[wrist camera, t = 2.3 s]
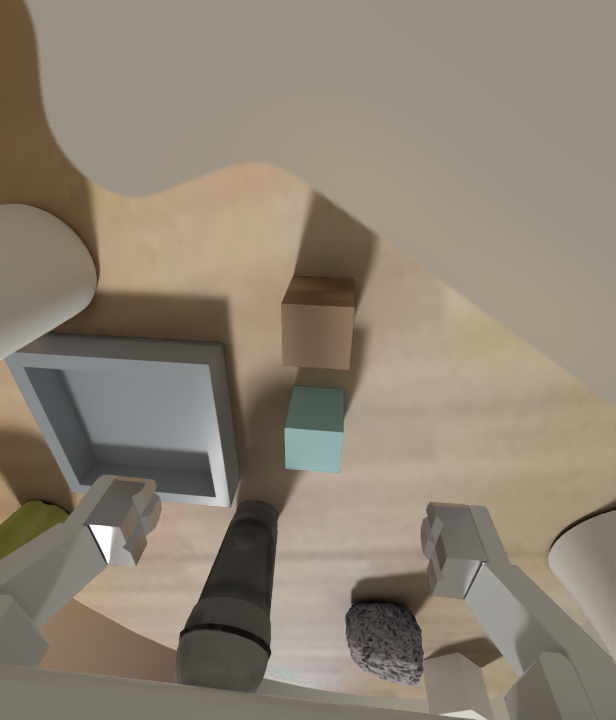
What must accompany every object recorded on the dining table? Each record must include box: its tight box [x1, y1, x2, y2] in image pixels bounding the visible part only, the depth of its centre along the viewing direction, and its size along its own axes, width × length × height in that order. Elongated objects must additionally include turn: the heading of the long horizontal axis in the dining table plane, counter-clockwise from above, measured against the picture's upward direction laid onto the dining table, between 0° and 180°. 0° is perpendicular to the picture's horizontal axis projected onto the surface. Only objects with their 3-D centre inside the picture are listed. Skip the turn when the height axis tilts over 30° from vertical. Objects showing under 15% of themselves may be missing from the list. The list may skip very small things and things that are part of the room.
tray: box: [4, 332, 240, 507], centre depth 29 cm, size 15×15×3 cm
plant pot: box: [0, 500, 70, 560], centre depth 37 cm, size 9×9×9 cm
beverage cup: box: [175, 501, 278, 693], centre depth 28 cm, size 7×7×20 cm
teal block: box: [285, 386, 344, 473], centre depth 27 cm, size 4×4×5 cm
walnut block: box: [281, 276, 355, 370], centre depth 22 cm, size 4×4×5 cm
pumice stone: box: [345, 602, 424, 686], centre depth 42 cm, size 10×8×10 cm
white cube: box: [422, 652, 494, 720], centre depth 48 cm, size 6×6×6 cm
